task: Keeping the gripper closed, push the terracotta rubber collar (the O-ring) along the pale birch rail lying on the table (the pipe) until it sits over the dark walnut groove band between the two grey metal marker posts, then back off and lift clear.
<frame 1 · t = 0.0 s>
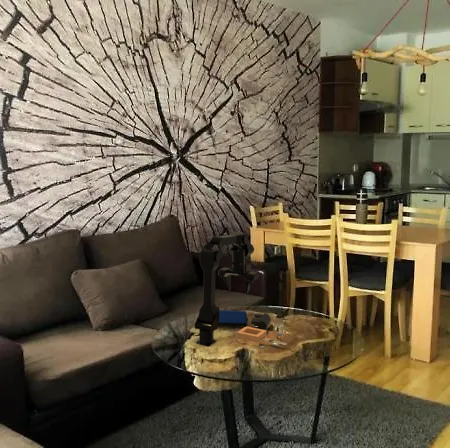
hand: (238, 291, 259), 15 cm above the table, fingers open, 9 cm apart
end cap: (261, 331, 251), on the table
rail: (261, 343, 237), on the table
collar: (251, 341, 239), resting in rail
handheld game console: (230, 325, 259), on the table
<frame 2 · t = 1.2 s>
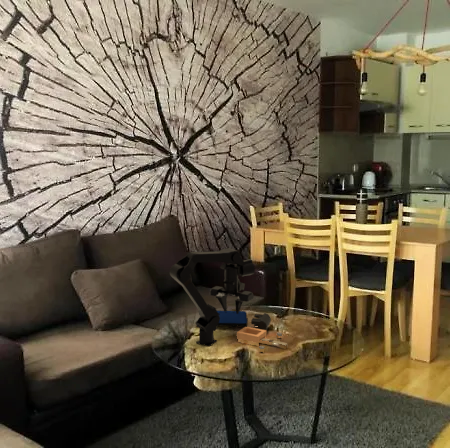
hand: (231, 312, 242), 11 cm above the table, fingers open, 6 cm apart
nothing on the table moved.
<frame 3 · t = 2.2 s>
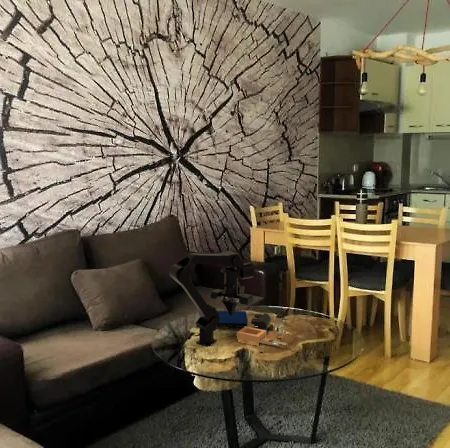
hand: (231, 315, 242), 10 cm above the table, fingers closed
nothing on the table moved.
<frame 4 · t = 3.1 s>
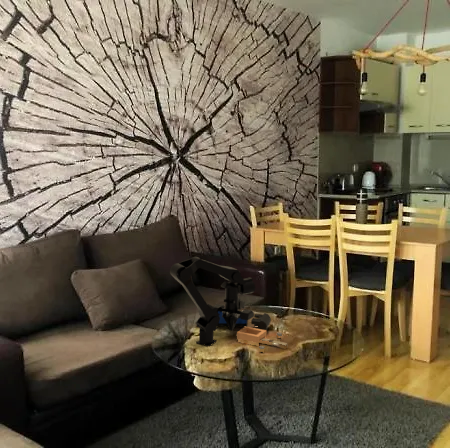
hand: (231, 330, 243), 3 cm above the table, fingers closed
nothing on the table moved.
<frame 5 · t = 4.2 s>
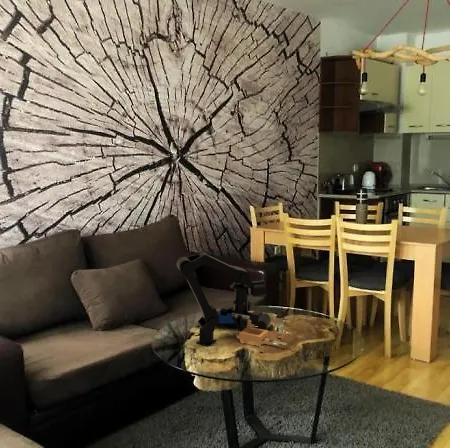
hand: (241, 332, 241), 3 cm above the table, fingers closed
collar: (253, 341, 238), resting in rail, touching gripper
everything else where it was.
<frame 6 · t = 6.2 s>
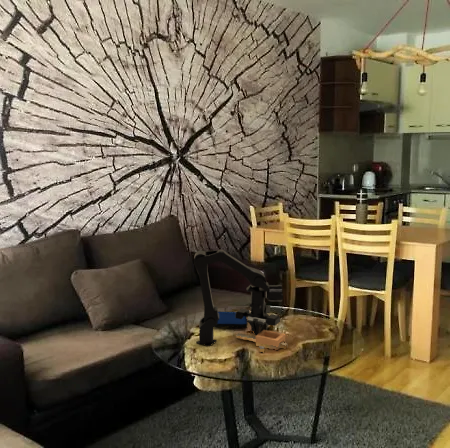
hand: (257, 336, 237), 3 cm above the table, fingers closed
collar: (270, 345, 234), resting in rail, touching gripper
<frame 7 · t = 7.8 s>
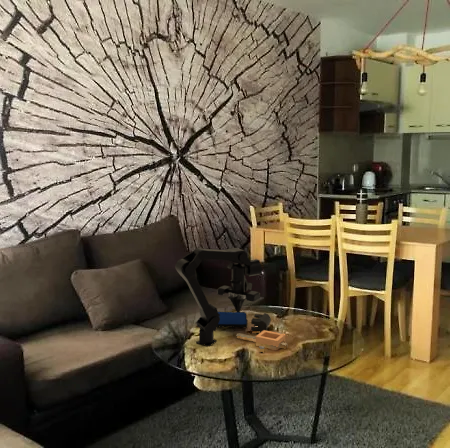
hand: (238, 312, 242), 11 cm above the table, fingers closed
collar: (270, 345, 234), resting in rail
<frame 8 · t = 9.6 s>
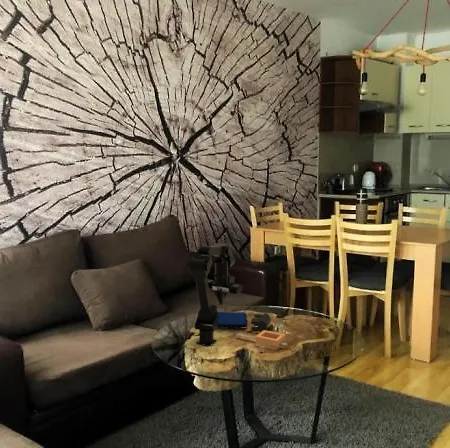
hand: (221, 304, 252), 11 cm above the table, fingers closed
at the end: collar 0.2 cm from the target spot, resting in rail; collar moved 8.8 cm from its start; collar tilted 0° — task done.
